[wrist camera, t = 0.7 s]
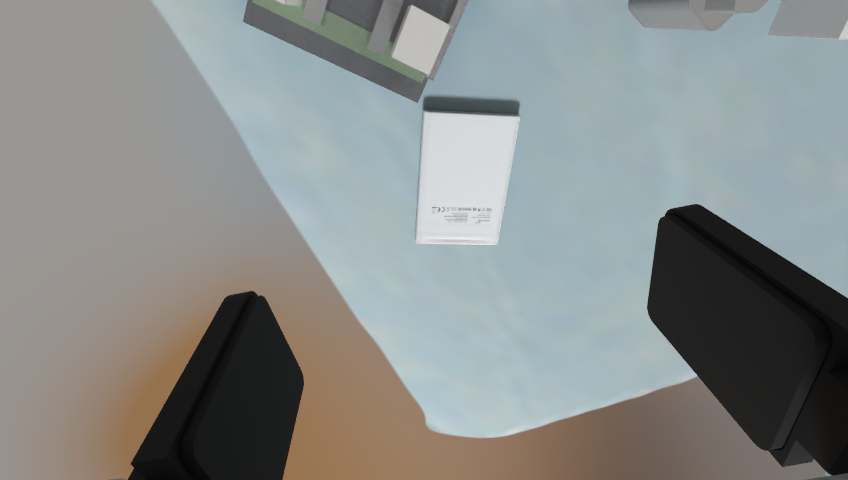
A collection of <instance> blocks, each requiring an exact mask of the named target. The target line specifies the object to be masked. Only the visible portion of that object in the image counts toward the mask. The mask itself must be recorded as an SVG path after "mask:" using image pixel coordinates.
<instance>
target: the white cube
mask: <svg viewBox="0 0 848 480" xmlns="http://www.w3.org/2000/svg"><path fill="white" fill-rule="evenodd" d="M768 35H775V36H792V37H809V38H827V39H845V40H848V0H782V2H781V4H780V6H779V9H778V11H777V14H776V16H775V18H774V21H773V23H772V26H771V28H770V30H769V33H768Z"/></svg>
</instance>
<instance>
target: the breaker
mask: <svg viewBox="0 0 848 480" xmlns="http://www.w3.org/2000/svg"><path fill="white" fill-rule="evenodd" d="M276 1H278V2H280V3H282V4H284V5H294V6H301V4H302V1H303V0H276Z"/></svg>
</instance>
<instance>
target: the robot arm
mask: <svg viewBox="0 0 848 480" xmlns="http://www.w3.org/2000/svg"><path fill="white" fill-rule="evenodd" d="M647 309H648V314H649V316H650V319H651V320H652V322H653V323H654V324H655V325H656V327H657V328H658V329H659V330H660V331H661V332H662V334H663V335H664V336H665V337H666V338H667V340H668V341H669V342H670V343H671V344H672V346H673V347H674V348H675V349H676V350H677V352H678V353H679V354H680V355H681V356H682V358H683V359H684V360H685V361H686V362H687V364H688V365H689V366H690V367H691V368H692V369H693V371H694V372H695V373H696V374H697V375H698V377H699V378H700V379H701V380H702V381H703V382H704V384H705V385H706V386H707V387H708V389H709V390H710V391H711V392H712V393H713V395H714V396H715V397H716V398H717V399H718V400H719V402H720V403H721V404H722V405H723V406H724V408H725V409H726V410H727V411H728V412H729V413H730V415H731V416H732V417H733V418H734V420H735V421H736V422H737V423H738V424H739V426H740V427H741V428H742V429H743V430H744V432H745V433H746V434H747V435H748V436H749V438H750V439H751V440H752V441H753V442H754V443H755V444H756V445H757V446H758V447H759V448H761V449H763V450H768V451H769V452H770V453H771V454H772V455H773V457H774V458H775V459H776V460H777V461H778V462H779V464H780V465H781V466H782V467H785V466H791V465H797V464H802V463H808V462H812V461H813V459H815V460H816V461H817V462H818V463H819V464H820V465H821V467H822V468H823V469H824V470H825V475H826V477H821V478H814V479H807V480H848V298H846V297H845V296H843V295H842V294H840V293H838V292H837V291H835V290H834V289H832V288H831V287H829V286H827V285H826V284H824V283H823V282H821V281H820V280H818V279H816V278H815V277H813V276H812V275H810V274H808V273H807V272H805V271H804V270H802V269H801V268H799V267H797V266H796V265H794V264H793V263H791V262H790V261H788V260H786V259H785V258H783V257H782V256H780V255H779V254H777V253H775V252H774V251H772V250H771V249H769V248H767V247H766V246H764V245H763V244H761V243H760V242H758V241H756V240H755V239H753V238H752V237H750V236H749V235H747V234H745V233H744V232H742V231H741V230H739V229H737V228H736V227H734V226H733V225H731V224H730V223H728V222H726V221H725V220H723V219H722V218H720V217H719V216H717V215H715V214H714V213H712V212H711V211H709V210H707V209H706V208H704V207H703V206H701V205H698V204H693V205H688V206H683V207H678V208H673V209H670V210H668V211H667V212H666V214H665V217H662V218H661V219H660V220H659V223H658V230H657V237H656V245H655V252H654V260H653V267H652V275H651V282H650V289H649V297H648V304H647ZM303 386H304V380H303V374H302V371H301V369H300V367H299V365H298V363H297V361H296V359H295V357H294V355H293V353H292V351H291V349H290V347H289V345H288V343H287V341H286V339H285V337H284V335H283V333H282V331H281V329H280V327H279V325H278V323H277V321H276V318H275V316H274V314H273V312H272V311H271V308H270V306H269V304H268V302H267V300H266V299H265V297H263V296H258V295H257V294H256V293H255V292H253V291H250V292H245V293H240V294H234V295H229V296H227V297H226V298H225V299H224V301H223V302H222V304H221V306H220V308H219V309H218V311H217V313H216V315H215V316H214V318H213V320H212V322H211V324H210V325H209V327H208V329H207V331H206V332H205V334H204V336H203V337H202V339H201V341H200V343H199V345H198V346H197V348H196V350H195V352H194V353H193V355H192V357H191V359H190V360H189V362H188V364H187V366H186V367H185V369H184V371H183V373H182V374H181V376H180V378H179V380H178V381H177V383H176V385H175V387H174V388H173V391H172V392H171V394H170V396H169V397H168V399H167V401H166V403H165V404H164V406H163V408H162V410H161V411H160V413H159V415H158V417H157V418H156V420H155V422H154V424H153V425H152V427H151V429H150V431H149V432H148V434H147V436H146V438H145V439H144V441H143V443H142V445H141V447H140V448H139V450H138V452H137V454H136V455H135V457H134V459H133V461H132V462H131V465H132V466H133V467H134V469H133V472H132V473H131V475H130V477H129V478H128V480H282V479H283V474H284V469H285V465H286V461H287V456H288V452H289V448H290V444H291V439H292V434H293V430H294V426H295V421H296V417H297V413H298V408H299V404H300V400H301V395H302V391H303ZM111 480H125V479H122V478H121V479H111Z"/></svg>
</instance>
